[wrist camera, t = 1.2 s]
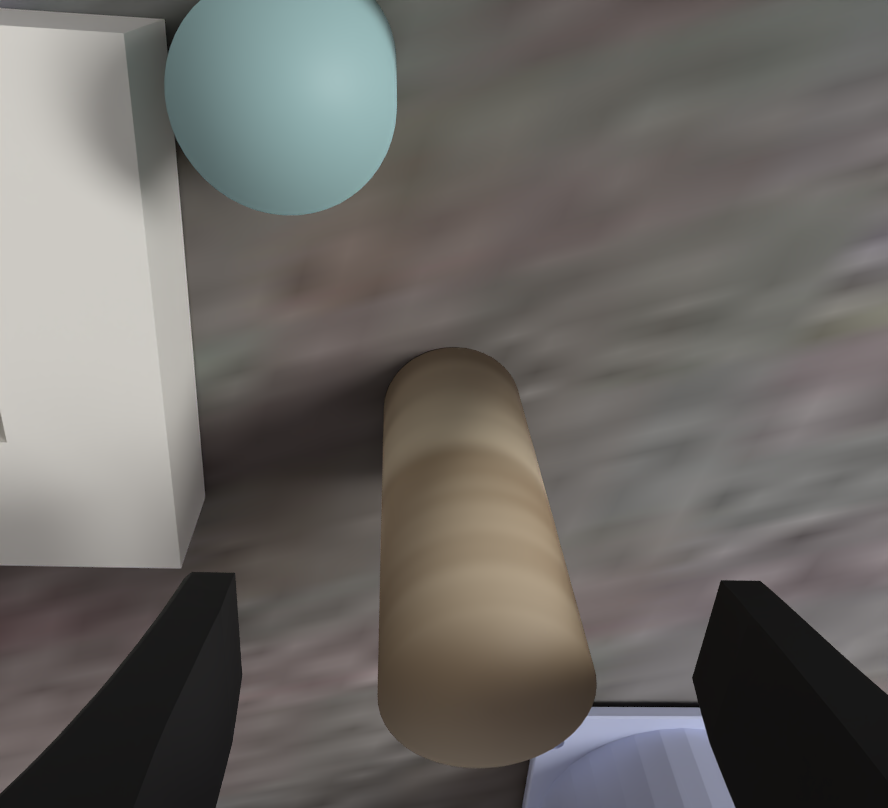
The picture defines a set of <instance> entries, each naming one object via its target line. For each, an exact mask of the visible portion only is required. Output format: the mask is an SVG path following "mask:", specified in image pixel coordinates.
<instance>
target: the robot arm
mask: <svg viewBox="0 0 888 808" xmlns="http://www.w3.org/2000/svg"><path fill="white" fill-rule="evenodd" d="M692 679H693V683H694V687H695V691H696V695H697V699H698V703H699V707H591V709H590V711H589V713H588V716H587V717H586V718H585V720H584V721H583V723H582V724H581V725H580V726H579V728H578V729H577V730H576V731H575V732H574V733H573V734H572V735H571V736H570V737H568V738H567V739H566V740H565V741H564V742H562V743H561V744H559V745H558V746H556V747H555V748H553V749H551V750H549V751H547V752H546V753H544V754H542V755H539V756H537V757H535V758H532V759H530V764H529V769H528V775H527V781H526V787H525V793H524V798H523V804H522V808H888V695H887V694H886V693H885V692H884V691H883V690H881V689H880V688H879V687H878V686H877V685H876V684H875V683H873V682H872V681H871V680H870V679H869V678H868V677H866V676H865V675H864V674H863V673H862V672H861V671H860V670H859V669H857V668H856V667H855V666H854V665H853V664H852V663H851V662H850V661H848V660H847V659H846V658H845V657H844V656H843V655H842V654H841V653H840V652H838V651H837V650H836V649H835V648H834V647H833V646H832V645H831V644H830V643H829V642H827V641H826V640H825V639H824V638H823V637H822V636H821V635H820V634H819V633H818V632H817V631H815V630H814V629H813V628H812V627H811V626H810V625H809V624H808V623H807V622H806V621H805V620H803V619H802V618H801V617H800V616H799V615H798V614H797V613H796V612H795V611H794V610H793V609H791V608H790V607H789V606H788V605H787V604H786V603H785V602H784V601H783V600H781V599H780V598H779V597H778V596H777V595H776V594H775V593H774V592H773V591H771V590H770V589H769V588H768V587H767V586H766V585H764V584H763V583H762V582H761V581H728V580H721V582H720V585H719V589H718V592H717V596H716V599H715V602H714V606H713V609H712V613H711V616H710V619H709V623H708V626H707V630H706V633H705V636H704V640H703V643H702V647H701V650H700V654H699V657H698V660H697V664H696V667H695V671H694V674H693V677H692ZM241 680H242V666H241V652H240V637H239V623H238V609H237V594H236V580H235V573H211V572H192V573H190V574H189V575H188V576H187V577H186V578H184V580H183V581H182V583H181V584H180V586H179V587H178V589H177V590H176V592H175V593H174V595H173V596H172V598H171V599H170V600H169V602H168V603H167V605H166V606H165V607H164V609H163V610H162V612H161V613H160V614H159V616H158V617H157V618H156V620H155V621H154V623H153V624H152V625H151V627H150V628H149V629H148V630H147V632H146V633H145V634H144V636H143V637H142V638H141V640H140V641H139V642H138V644H137V645H136V646H135V647H134V649H133V650H132V651H131V652H130V654H129V655H128V656H127V657H126V659H125V660H124V661H123V662H122V663H121V665H120V666H119V667H118V668H117V670H116V671H115V672H114V673H113V675H112V676H111V677H110V678H109V680H108V681H107V682H106V683H105V684H104V686H103V687H102V688H101V689H100V690H99V691H98V693H97V694H96V695H95V696H94V697H93V698H92V699H91V700H90V701H89V703H88V704H87V705H86V706H85V707H84V708H83V709H82V710H81V711H80V713H79V714H78V715H77V716H76V717H75V718H74V719H73V720H72V721H71V723H70V724H69V725H68V726H67V727H66V728H65V729H64V730H63V731H62V733H61V734H60V735H59V736H58V737H57V738H56V739H55V740H54V741H53V742H52V743H51V744H50V745H49V746H48V747H47V748H46V749H45V750H44V751H43V752H42V753H41V755H40V756H39V757H38V758H37V759H36V760H35V761H34V762H33V763H32V764H31V765H30V766H29V767H28V768H27V769H26V770H25V771H23V772H22V773H21V774H20V775H19V776H18V777H17V778H16V779H15V780H14V781H13V782H12V783H11V784H10V785H9V786H8V787H7V788H6V789H5V790H4V791H3V792H2V793H1V794H0V808H215V807H216V804H217V800H218V796H219V792H220V788H221V785H222V781H223V777H224V773H225V769H226V765H227V761H228V758H229V754H230V750H231V746H232V741H233V734H234V728H235V721H236V715H237V708H238V701H239V694H240V687H241Z"/></svg>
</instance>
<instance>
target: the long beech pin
mask: <svg viewBox="0 0 888 808" xmlns="http://www.w3.org/2000/svg"><path fill="white" fill-rule="evenodd" d="M596 686H597V685H596V674H595V670H594V666H593V662H592V658H591V655H590V651H589V648H588V644H587V640H586V637H585V633H584V629H583V626H582V622H581V618H580V615H579V611H578V608H577V604H576V600H575V597H574V593H573V589H572V586H571V582H570V578H569V575H568V571H567V567H566V564H565V560H564V557H563V553H562V549H561V546H560V542H559V538H558V535H557V531H556V527H555V524H554V520H553V517H552V513H551V509H550V506H549V502H548V498H547V495H546V491H545V487H544V484H543V480H542V477H541V473H540V469H539V466H538V462H537V458H536V455H535V451H534V447H533V444H532V440H531V436H530V433H529V429H528V426H527V422H526V418H525V415H524V411H523V407H522V404H521V400H520V396H519V393H518V389H517V387H516V384H515V382H514V380H513V378H512V377H511V375H510V374H509V372H508V371H507V370H506V369H505V368H504V367H503V366H502V365H501V364H500V363H499V362H497V361H496V360H495V359H493V358H492V357H490V356H488V355H486V354H484V353H481V352H478V351H476V350H471V349H467V348H457V347H456V348H442V349H437V350H433V351H429V352H427V353H424V354H422V355H420V356H418V357H416V358H414V359H413V360H411V361H410V362H409V363H407V364H406V365H405V366H404V367H403V368H402V369H401V370H400V371H399V372H398V373H397V374H396V375H395V377H394V378H393V380H392V382H391V383H390V385H389V388H388V390H387V393H386V396H385V401H384V424H383V470H382V516H381V562H380V609H379V655H378V706H379V710H380V714H381V717H382V719H383V721H384V723H385V725H386V727H387V728H388V730H389V731H390V733H391V734H392V735H393V736H394V737H395V738H396V739H397V740H398V741H399V742H400V743H401V744H403V745H404V746H405V747H406V748H408V749H409V750H411V751H413V752H414V753H416V754H418V755H420V756H422V757H424V758H426V759H429V760H432V761H435V762H437V763H441V764H445V765H450V766H455V767H463V768H494V767H501V766H507V765H512V764H516V763H520V762H523V761H526V760H529V759H532V758H535V757H537V756H539V755H542V754H544V753H546V752H547V751H549V750H551V749H553V748H555V747H556V746H558V745H559V744H561V743H562V742H564V741H565V740H566V739H567V738H568V737H570V736H571V735H572V734H573V733H574V732H575V731H576V730H577V729H578V728H579V726H580V725H581V724H582V723H583V721H584V720H585V718H586V717H587V716H588V713H589V711H590V709H591V707H592V705H593V702H594V699H595V694H596Z"/></svg>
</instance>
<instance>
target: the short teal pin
mask: <svg viewBox="0 0 888 808" xmlns="http://www.w3.org/2000/svg"><path fill="white" fill-rule="evenodd" d="M164 90H165V101H166V108H167V113H168V116H169V120H170V124H171V127H172V129H173V132H174V134H175V137H176V139H177V141H178V143H179V145H180V147H181V149H182V150H183V152H184V154H185V156H186V157H187V158H188V160H189V161H190V163H191V164H192V165H193V167H194V168H195V169H196V170H197V171H198V172H199V174H200V175H201V176H202V177H203V178H204V179H205V180H206V181H207V182H208V183H210V184H211V185H212V186H213V187H214V188H215V189H217V190H218V191H219V192H221V193H222V194H224V195H225V196H227V197H228V198H230V199H232V200H234V201H236V202H238V203H240V204H242V205H244V206H246V207H249V208H252V209H254V210H257V211H262V212H266V213H270V214H278V215H303V214H310V213H315V212H319V211H322V210H326V209H328V208H331V207H333V206H335V205H337V204H340V203H341V202H343V201H345V200H346V199H348V198H350V197H351V196H352V195H354V194H355V193H356V192H357V191H359V190H360V189H361V188H362V187H363V186H364V185H365V184H366V183H367V182H368V181H369V180H370V179H371V178H372V176H373V175H374V174H375V172H376V171H377V169H378V168H379V167H380V165H381V163H382V161H383V159H384V157H385V156H386V154H387V151H388V149H389V146H390V143H391V140H392V137H393V133H394V128H395V123H396V113H397V77H396V49H395V42H394V38H393V35H392V31H391V28H390V26H389V23H388V21H387V18H386V16H385V15H384V13H383V11H382V9H381V7H380V6H379V5H378V3H377V2H376V1H375V0H200V1H199V2H198V3H197V4H196V5H195V6H194V7H193V8H192V9H191V10H190V12H189V13H188V14H187V16H186V17H185V18H184V19H183V21H182V23H181V25H180V26H179V28H178V30H177V32H176V33H175V36H174V38H173V41H172V43H171V46H170V49H169V53H168V57H167V61H166V67H165V77H164Z"/></svg>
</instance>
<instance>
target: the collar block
mask: <svg viewBox="0 0 888 808" xmlns="http://www.w3.org/2000/svg"><path fill="white" fill-rule="evenodd" d="M167 57H168V53H167V41H166V30H165V19H155V18H140V17H125V16H110V15H95V14H81V13H66V12H51V11H36V10H21V9H6V8H0V565H7V566H65V567H122V568H179V569H181V568H182V565H183V562H184V559H185V556H186V553H187V550H188V547H189V544H190V541H191V538H192V535H193V532H194V529H195V526H196V523H197V520H198V517H199V514H200V512H201V509H202V506H203V503H204V500H205V487H204V475H203V463H202V451H201V440H200V428H199V416H198V405H197V393H196V381H195V369H194V358H193V346H192V334H191V323H190V311H189V299H188V287H187V276H186V264H185V252H184V241H183V229H182V217H181V205H180V194H179V182H178V170H177V159H176V147H175V135H174V132H173V129H172V127H171V124H170V120H169V116H168V113H167V108H166V101H165V90H164V77H165V67H166V61H167Z"/></svg>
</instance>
